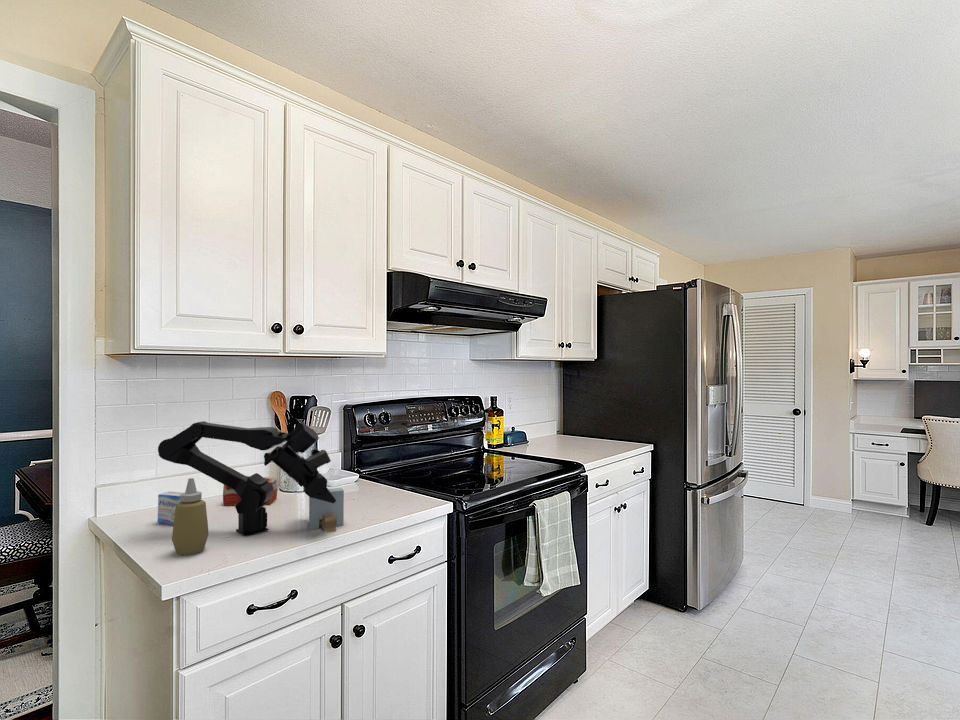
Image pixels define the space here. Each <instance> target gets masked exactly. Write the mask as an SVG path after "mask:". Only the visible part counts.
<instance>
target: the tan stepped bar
mask: <svg viewBox="0 0 960 720" xmlns="http://www.w3.org/2000/svg"><path fill="white" fill-rule="evenodd" d="M319 525H320V528H321V529H322V530H323V531H324V533H329V532H330V533H331V532H336V531H337V526H336V516H335V514H327V515H323V519H319Z"/></svg>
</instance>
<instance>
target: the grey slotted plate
mask: <svg viewBox="0 0 960 720" xmlns="http://www.w3.org/2000/svg"><path fill="white" fill-rule="evenodd" d="M327 489H328V490H329V491H330V493H331V494H332V495H333V497H334V498H335V499H336V502H335V503H330V502H327V501H323V500H319V499H315V498H310V497H309V496H308V497H309V499H308V501H309V502H308V503H309V504H308V509H309V510H308V511H309V512H308V527H309V529H310V530H317V529H319V525H320V524H319V519H323V515H327V514H335V516H336V527H338V526H344V513H345V512H344V511H345V510H344V509H345V507H344V504H345V503H344V499H345V498H344V497H345V495H344V489H343V488H342V487H336V488H334V487H333V488H327Z"/></svg>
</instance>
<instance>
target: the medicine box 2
mask: <svg viewBox="0 0 960 720" xmlns="http://www.w3.org/2000/svg"><path fill="white" fill-rule="evenodd" d="M262 477H263V478H266V479H269V480H268V482H270V483H271V484H272V485H273V488H274V493H273V496H272V497H271V498H270V499H269V500H268V501H267V504H266V505H265V506H270V505H271V504H272V503H273V502H274V501H276V500H277V499H278V498H277V496H278V478H277V476H267V477H266V476H262ZM222 488H223V491H222V503H223V506H224V507H233V506H234V507H235V506H236V505H237V504H238V503H239V502H240V501H241V500H242V499H241V498H240V497H239V496H238V494H237V493H236V492H235V491H234V490H233V489H231V488H230V487H228V486H226V485H224V484H223V487H222Z"/></svg>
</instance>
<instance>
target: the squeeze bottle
mask: <svg viewBox="0 0 960 720" xmlns="http://www.w3.org/2000/svg"><path fill="white" fill-rule="evenodd" d="M185 487H186V488H185V492H181V493H182V494H181V495H180V501H181V502H180V503H178V504H177V505H176V509H175V517H174V525H172V526H173V527H172V535H171V542H172V545H173V548H174V549H175V552H176V554H177V555H178V556H179V555H180V556H188V555H194V554H199V553H200V552H202V551H204V549H205V546H206V543H207V542H208V539H209V535H210V532H209V524H208V523H209V522H208V514H207V513H208V512H207V503H206V501H204V500H202V496H203V495H202V491H198V490H197V486H196V482H195V479H194V478H193V477H191V478H188V480H187V483H186V486H185Z"/></svg>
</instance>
